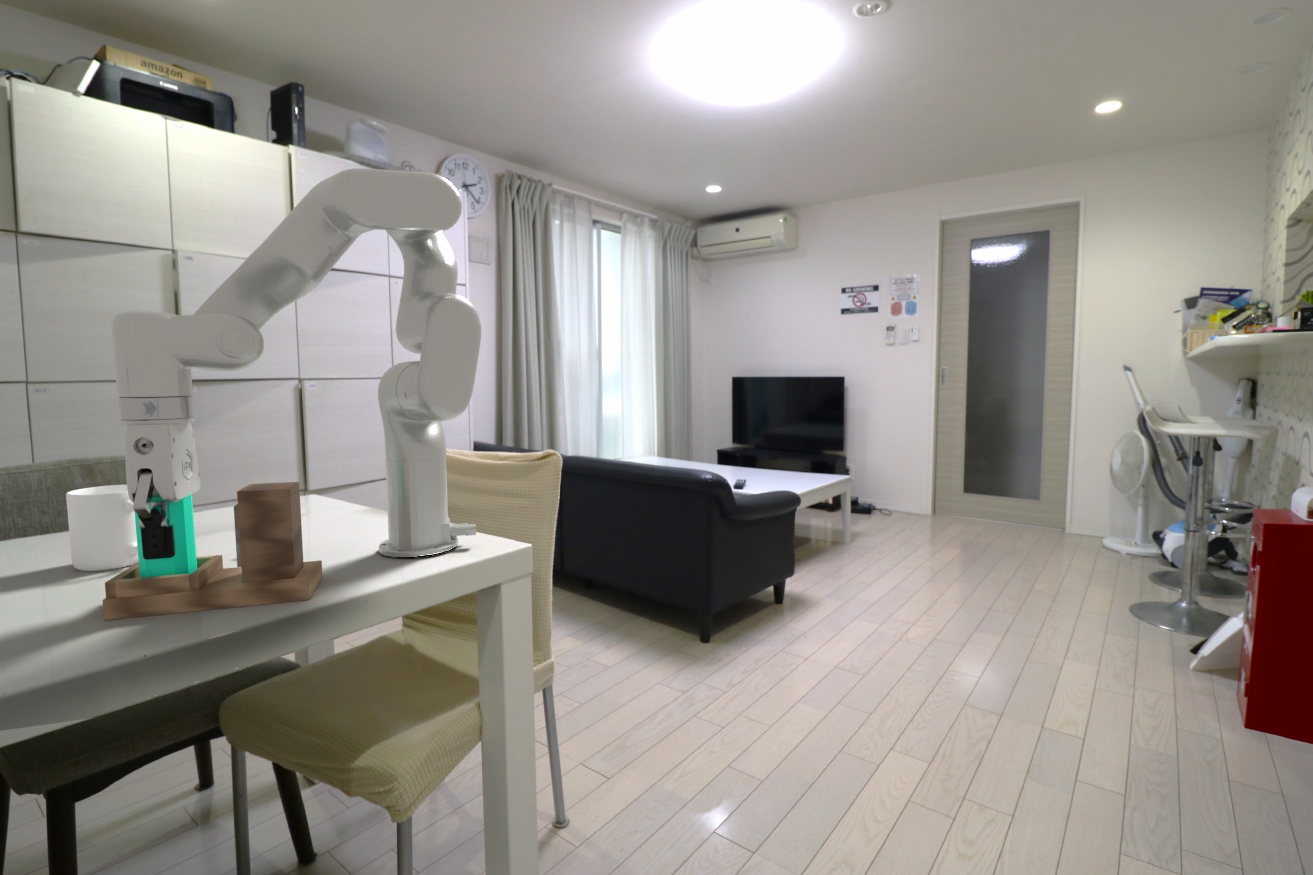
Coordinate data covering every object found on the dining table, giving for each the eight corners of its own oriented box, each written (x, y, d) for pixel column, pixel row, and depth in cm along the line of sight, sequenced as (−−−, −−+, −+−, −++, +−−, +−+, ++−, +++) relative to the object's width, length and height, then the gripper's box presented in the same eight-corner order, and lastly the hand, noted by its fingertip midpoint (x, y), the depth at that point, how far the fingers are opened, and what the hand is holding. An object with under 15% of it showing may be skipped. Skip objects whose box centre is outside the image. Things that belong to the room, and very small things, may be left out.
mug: (110, 554, 105) (105, 484, 104) (181, 555, 105) (176, 484, 103) (54, 571, 96) (47, 494, 94) (132, 572, 95) (126, 495, 94)
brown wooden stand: (322, 577, 93) (317, 478, 92) (309, 599, 84) (304, 490, 82) (140, 593, 86) (132, 487, 85) (104, 620, 77) (94, 501, 75)
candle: (166, 581, 79) (159, 486, 78) (127, 578, 80) (119, 484, 79) (209, 567, 85) (202, 478, 84) (172, 564, 86) (165, 477, 85)
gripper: (166, 414, 74) (178, 568, 76) (214, 407, 90) (222, 534, 92) (86, 416, 72) (100, 574, 73) (150, 408, 87) (160, 538, 89)
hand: (168, 550), depth 82 cm, fingers closed on candle, 4 cm apart
